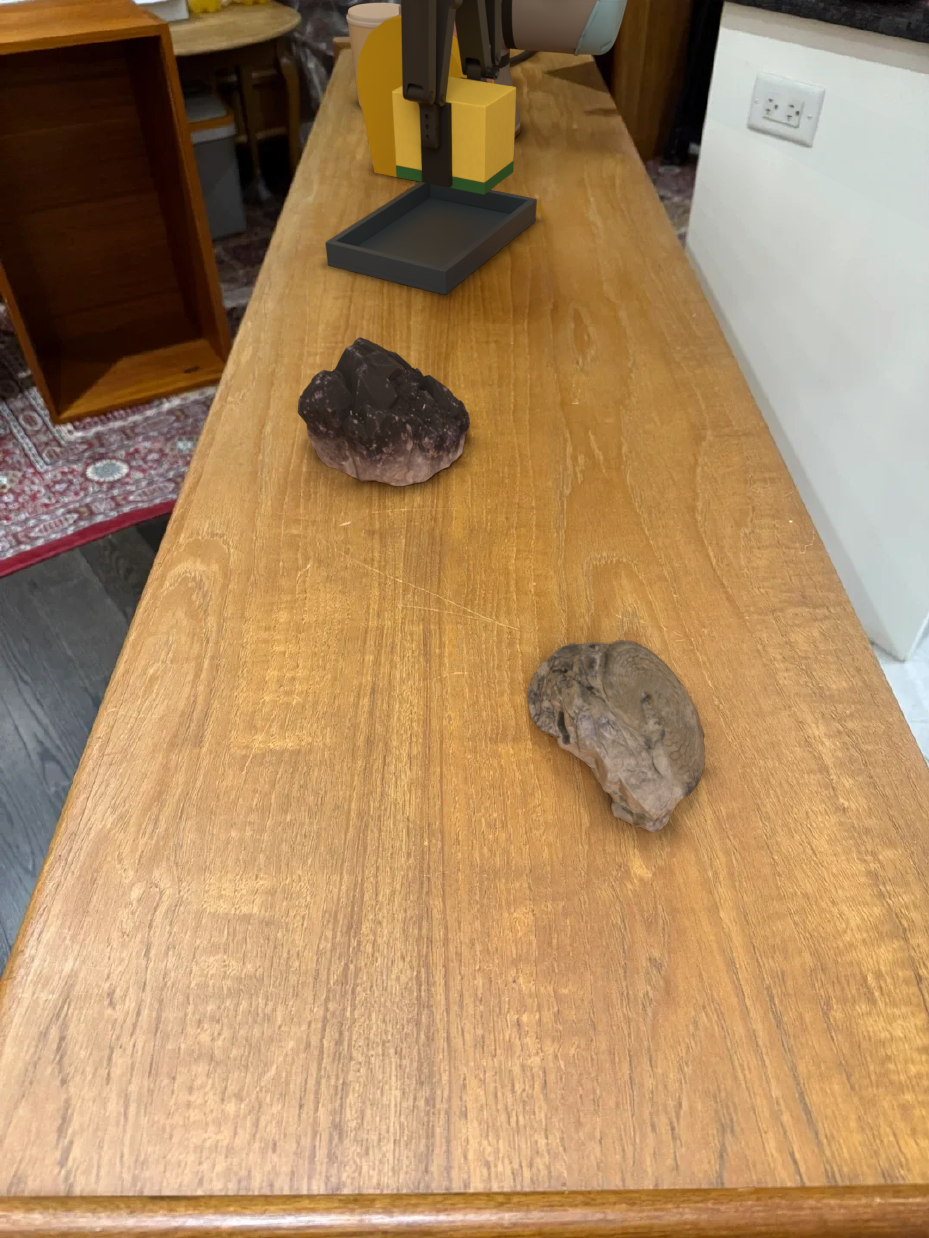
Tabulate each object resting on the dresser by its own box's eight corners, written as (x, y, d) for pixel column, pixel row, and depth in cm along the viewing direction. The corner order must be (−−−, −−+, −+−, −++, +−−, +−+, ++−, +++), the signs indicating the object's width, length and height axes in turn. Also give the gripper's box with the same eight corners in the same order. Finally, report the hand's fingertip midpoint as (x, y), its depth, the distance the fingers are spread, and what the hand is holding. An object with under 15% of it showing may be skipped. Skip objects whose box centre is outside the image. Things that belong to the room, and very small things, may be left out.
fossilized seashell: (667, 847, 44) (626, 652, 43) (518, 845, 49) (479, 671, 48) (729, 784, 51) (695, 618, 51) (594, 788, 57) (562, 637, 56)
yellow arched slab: (493, 169, 114) (498, 0, 101) (464, 190, 109) (465, 15, 96) (395, 151, 119) (387, -13, 106) (363, 170, 114) (350, 1, 101)
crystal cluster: (450, 397, 77) (437, 286, 71) (493, 475, 68) (483, 354, 61) (301, 430, 76) (273, 318, 69) (323, 515, 66) (293, 394, 59)
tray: (428, 198, 108) (427, 176, 106) (535, 221, 103) (537, 199, 101) (327, 265, 94) (324, 242, 93) (445, 295, 90) (445, 271, 88)
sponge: (428, 156, 84) (425, 72, 79) (513, 172, 81) (516, 87, 76) (396, 177, 80) (391, 91, 75) (484, 195, 77) (485, 106, 72)
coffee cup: (406, 115, 130) (402, 19, 121) (345, 111, 131) (337, 15, 123) (421, 96, 136) (418, 4, 128) (363, 93, 138) (356, 1, 129)
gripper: (433, -150, 57) (441, 216, 73) (552, -177, 68) (535, 145, 85) (336, -157, 59) (364, 200, 76) (466, -181, 70) (466, 133, 87)
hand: (455, 170), depth 80 cm, fingers closed on sponge, 6 cm apart
